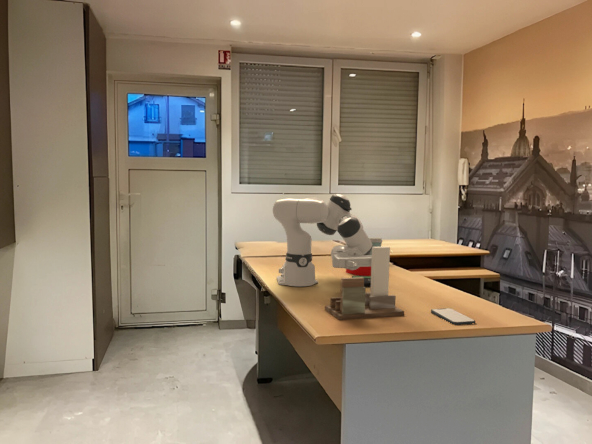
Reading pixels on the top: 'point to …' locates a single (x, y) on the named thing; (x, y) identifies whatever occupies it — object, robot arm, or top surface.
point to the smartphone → (452, 316)
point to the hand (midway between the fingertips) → (366, 264)
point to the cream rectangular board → (380, 271)
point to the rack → (367, 307)
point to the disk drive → (365, 280)
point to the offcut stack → (352, 295)
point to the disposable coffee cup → (375, 243)
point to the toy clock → (360, 271)
